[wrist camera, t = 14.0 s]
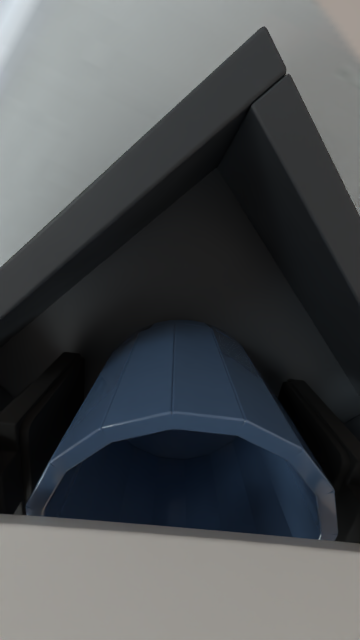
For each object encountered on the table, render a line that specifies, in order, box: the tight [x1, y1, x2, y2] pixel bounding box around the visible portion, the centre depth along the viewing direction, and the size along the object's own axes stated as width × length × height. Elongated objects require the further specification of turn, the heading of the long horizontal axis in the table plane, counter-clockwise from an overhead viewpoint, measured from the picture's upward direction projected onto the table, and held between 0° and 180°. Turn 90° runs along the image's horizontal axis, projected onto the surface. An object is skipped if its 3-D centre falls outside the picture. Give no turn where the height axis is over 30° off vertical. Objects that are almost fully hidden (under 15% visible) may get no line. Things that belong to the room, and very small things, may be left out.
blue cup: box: [25, 320, 338, 541], centre depth 8 cm, size 7×7×6 cm
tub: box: [0, 27, 360, 442], centre depth 9 cm, size 14×14×5 cm
